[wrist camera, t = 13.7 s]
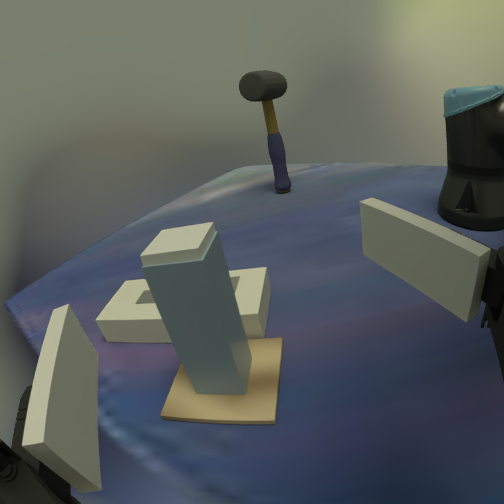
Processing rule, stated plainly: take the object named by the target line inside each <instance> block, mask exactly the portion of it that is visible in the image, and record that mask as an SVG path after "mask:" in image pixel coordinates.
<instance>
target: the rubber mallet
mask: <svg viewBox="0 0 504 504" xmlns="http://www.w3.org/2000/svg"><path fill="white" fill-rule="evenodd" d="M286 89H287V82H286V79H285V78H284V76H283V75H281V74H280V73H277V72H272V71H255V72H249V73H247V74H245V75H244V76H243V77H242V78H241V80H240V83H239V90H240V93H241V95H242V96H243V97H244V98H245V99H247V100H249V101H262V105H263V110H264V116H265V121H266V126H267V132H268V149H269V155H270V158H271V161H272V165H273V170H274V176H275V188H276V190H278V192H279V193H284V192H287V191H289V189H290V187H291V182H290V179H289V177H288V172H287V167H286V159H285V149H284V144H283V141H282V137H281V135H280V133H279V131H278V126H277V121H276V116H275V111H274V106H273V101H272V100H273V99H275V98H279V97H281V96H282V95H284V93H285V92H286Z"/></svg>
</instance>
